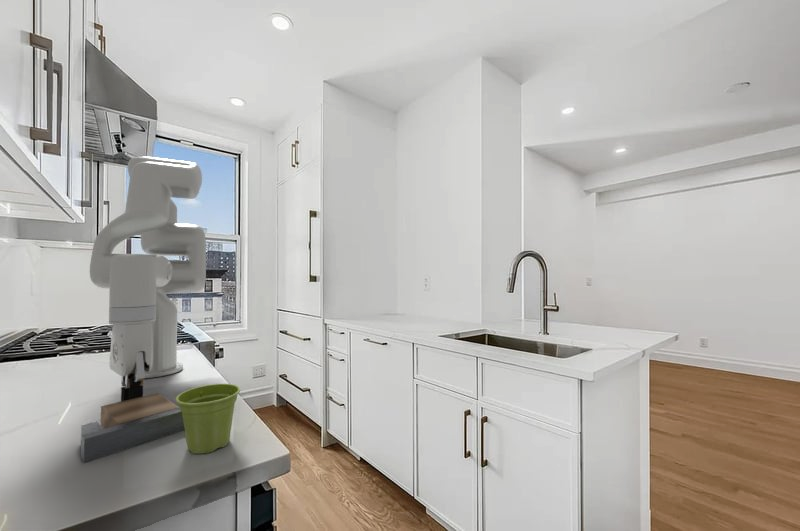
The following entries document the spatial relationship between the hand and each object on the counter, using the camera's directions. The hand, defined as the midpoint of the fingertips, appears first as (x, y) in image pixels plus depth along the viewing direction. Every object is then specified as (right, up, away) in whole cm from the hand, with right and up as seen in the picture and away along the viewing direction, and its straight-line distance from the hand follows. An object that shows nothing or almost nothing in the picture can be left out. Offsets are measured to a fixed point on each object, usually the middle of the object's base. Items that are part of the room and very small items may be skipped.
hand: (131, 405), depth 70 cm
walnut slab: (+6, -2, -5) cm, 8 cm away
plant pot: (+22, -2, -12) cm, 26 cm away
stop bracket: (+10, -1, -8) cm, 12 cm away
